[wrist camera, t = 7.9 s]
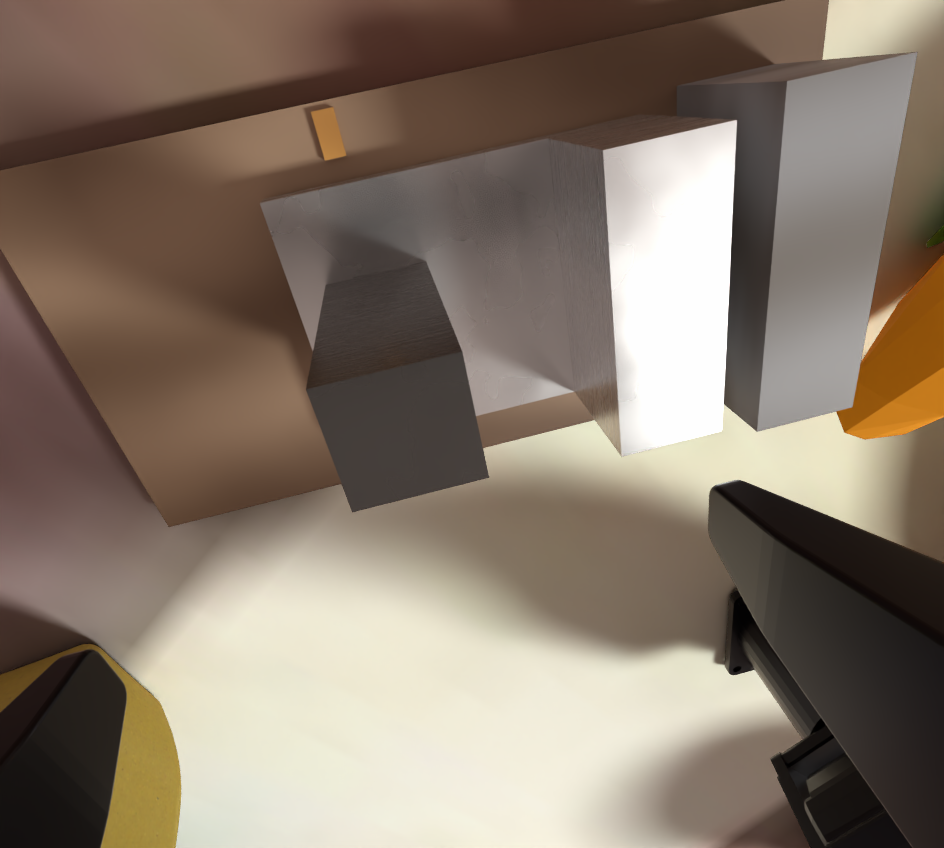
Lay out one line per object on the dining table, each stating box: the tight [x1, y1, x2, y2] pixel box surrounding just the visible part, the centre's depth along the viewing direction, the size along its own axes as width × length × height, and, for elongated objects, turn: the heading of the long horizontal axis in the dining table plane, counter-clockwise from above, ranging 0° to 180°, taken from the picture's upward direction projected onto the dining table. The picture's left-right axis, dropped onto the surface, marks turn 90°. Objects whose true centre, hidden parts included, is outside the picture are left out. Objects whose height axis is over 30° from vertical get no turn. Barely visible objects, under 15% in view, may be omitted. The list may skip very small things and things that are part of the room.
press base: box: [0, 0, 917, 527], centre depth 17 cm, size 12×24×6 cm, turn 100°
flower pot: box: [0, 644, 181, 848], centre depth 22 cm, size 9×9×9 cm
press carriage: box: [260, 114, 737, 512], centre depth 15 cm, size 8×11×8 cm
